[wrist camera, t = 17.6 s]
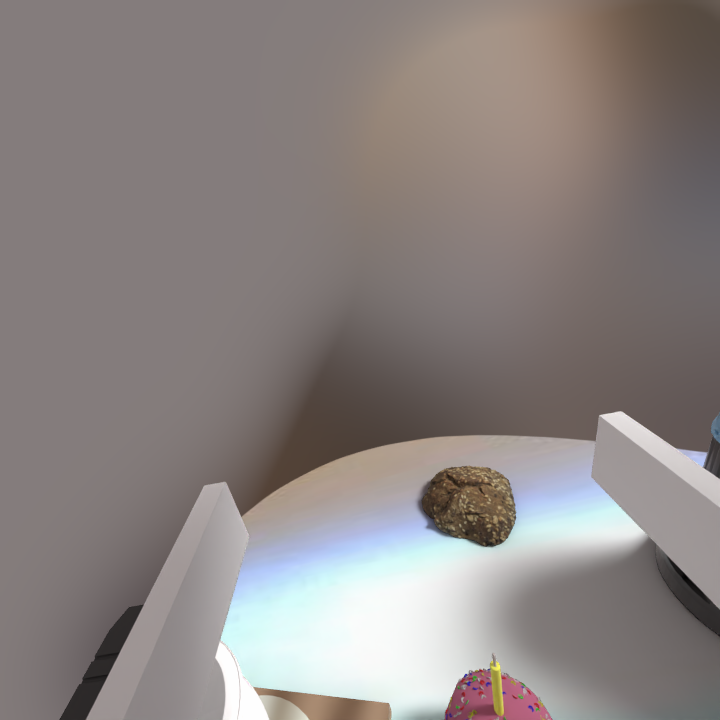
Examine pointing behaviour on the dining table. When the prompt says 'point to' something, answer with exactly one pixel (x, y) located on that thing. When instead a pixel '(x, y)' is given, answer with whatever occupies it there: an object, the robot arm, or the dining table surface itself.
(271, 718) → the board
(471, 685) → the cupcake
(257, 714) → the jar
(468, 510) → the bread roll
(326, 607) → the dining table surface
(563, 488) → the dining table surface
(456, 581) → the dining table surface
